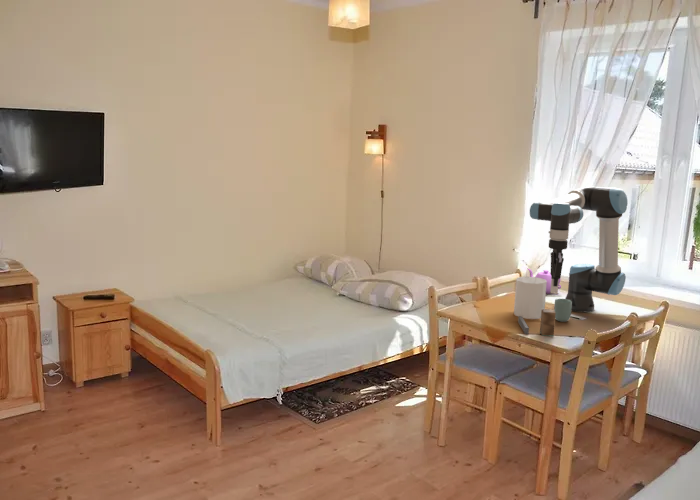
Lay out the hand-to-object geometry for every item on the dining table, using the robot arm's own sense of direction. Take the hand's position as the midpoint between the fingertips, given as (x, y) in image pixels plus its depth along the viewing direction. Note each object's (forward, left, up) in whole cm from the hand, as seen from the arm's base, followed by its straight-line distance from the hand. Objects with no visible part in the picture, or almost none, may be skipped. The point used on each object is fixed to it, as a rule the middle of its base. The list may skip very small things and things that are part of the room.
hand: (553, 293), depth 264 cm
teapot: (-15, -86, -22) cm, 90 cm away
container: (+2, -38, -22) cm, 43 cm away
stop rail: (+9, -16, -21) cm, 28 cm away
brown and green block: (0, -8, -21) cm, 23 cm away
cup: (-12, -30, -22) cm, 39 cm away
